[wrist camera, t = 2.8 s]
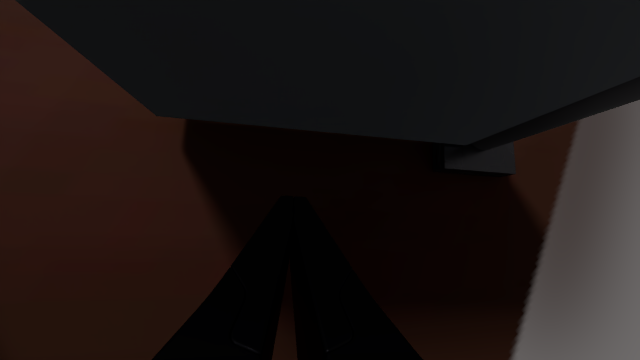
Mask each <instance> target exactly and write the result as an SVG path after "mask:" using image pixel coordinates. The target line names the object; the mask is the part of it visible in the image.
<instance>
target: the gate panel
mask: <svg viewBox="0 0 640 360" xmlns="http://www.w3.org/2000/svg"><path fill="white" fill-rule="evenodd" d="M16 1H17V2H18V3H19V4H21V5H22V6H23V7H24V8H25V9H27V10H28V11H29V12H30V13H32V14H33V15H34V16H35V17H36V18H38V19H39V20H40V21H41V22H43V23H44V24H45V25H46V26H47V27H49V28H50V29H51V30H52V31H54V32H55V33H56V34H57V35H58V36H60V37H61V38H62V39H63V40H65V41H66V42H67V43H68V44H69V45H71V46H72V47H73V48H74V49H75V50H77V51H78V52H79V53H80V54H82V55H83V56H84V57H85V58H86V59H88V60H89V61H90V62H91V63H93V64H94V65H95V66H96V67H97V68H99V69H100V70H101V71H102V72H104V73H105V74H106V75H107V76H108V77H110V78H111V79H112V80H113V81H115V82H116V83H117V84H118V85H119V86H121V87H122V88H123V89H124V90H126V91H127V92H128V93H129V94H130V95H132V96H133V97H134V98H135V99H137V100H138V101H139V102H140V103H141V104H143V105H144V106H145V107H146V108H147V109H149V110H150V111H151V112H152V113H154V114H155V115H156V116H162V117H173V118H183V119H194V120H204V121H215V122H226V123H236V124H247V125H257V126H268V127H278V128H289V129H299V130H310V131H320V132H331V133H341V134H352V135H362V136H373V137H383V138H394V139H404V140H415V141H425V142H436V143H446V144H457V145H468V144H472V145H473V146H474V147H476V148H478V149H481V150H489V149H492V148H495V147H498V146H501V145H504V144H507V143H510V142H513V141H516V140H519V139H522V138H525V137H528V136H531V135H534V134H538V133H541V132H544V131H547V130H550V129H553V128H556V127H559V126H562V125H565V124H568V123H571V122H574V121H577V120H580V119H583V118H586V117H589V116H592V115H595V114H597V113H601V112H604V111H607V110H610V109H613V108H616V107H619V106H622V105H625V104H628V103H631V102H634V101H637V100H640V0H16Z"/></svg>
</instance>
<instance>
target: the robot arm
mask: <svg viewBox="0 0 640 360" xmlns="http://www.w3.org/2000/svg"><path fill="white" fill-rule="evenodd" d="M289 256H290V272H291V284H292V296H293V309H294V321H295V333H296V345H297V358H298V360H423V359H422V358H421V357H420V356H419V354H418V353H417V352H416V351H415V350H414V349H413V347H412V346H411V345H410V344H409V342H408V341H407V340H406V339H405V338H404V336H403V335H402V334H401V333H400V331H399V330H398V329H397V328H396V327H395V325H394V324H393V323H392V322H391V320H390V319H389V318H388V317H387V316H386V314H385V313H384V312H383V311H382V309H381V308H380V307H379V306H378V304H377V303H376V302H375V300H374V299H373V298H372V297H371V295H370V294H369V293H368V291H367V290H366V288H365V287H364V285H363V284H362V282H361V281H360V280H359V278H358V276H357V275H356V273H355V272H354V271H353V270H352V267H351V266H350V264H349V263H348V261H347V260H346V258H345V257H344V255H343V254H342V252H341V251H340V249H339V247H338V246H337V244H336V243H335V241H334V240H333V238H332V237H331V235H330V234H329V232H328V231H327V229H326V228H325V226H324V224H323V223H322V221H321V220H320V218H319V217H318V215H317V214H316V212H315V211H314V209H313V208H312V206H311V205H310V203H309V201H308V200H307V198H306V197H298V196H295V197H294V198H293V197H292V196H281V197H280V198H279V199H278V201H277V202H276V204H275V205H274V206H273V208H272V209H271V211H270V212H269V213H268V215H267V216H266V218H265V219H264V220H263V222H262V223H261V225H260V226H259V227H258V229H257V230H256V232H255V233H254V234H253V236H252V237H251V239H250V240H249V241H248V243H247V244H246V246H245V247H244V248H243V250H242V251H241V253H240V254H239V255H238V257H237V258H236V260H235V261H234V262H233V264H232V265H231V268H229V269H228V271H227V272H226V273H225V275H224V276H223V278H222V279H221V280H220V282H219V283H218V284H217V285H216V287H215V288H214V289H213V291H212V292H211V293H210V295H209V296H208V297H207V298H206V299H205V300H204V302H203V303H202V304H201V305H200V306H199V307H198V309H197V310H196V311H195V312H194V313H193V314H192V315H191V317H190V318H189V319H188V320H187V321H186V322H185V323H184V324H183V325H182V326H181V328H180V329H179V330H178V331H177V332H176V333H175V334H174V335H173V336H172V338H171V339H170V340H169V341H168V342H167V343H166V344H165V345H164V346H163V348H162V349H161V350H160V351H159V352H158V353H157V354H156V355H155V356H154V358H153V359H152V360H272V355H273V349H274V344H275V338H276V332H277V327H278V321H279V315H280V310H281V304H282V298H283V293H284V287H285V281H286V276H287V270H288V264H289Z"/></svg>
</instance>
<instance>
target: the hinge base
mask: <svg viewBox="0 0 640 360" xmlns="http://www.w3.org/2000/svg"><path fill="white" fill-rule="evenodd" d="M433 172H444V173H457V174H469V175H482V176H495V177H502V176H507V175H513V174H516V171H515V158H514V145H513V142H510V143H507V144H504V145H501V146H498V147H495V148H492V149H489V150H481V149H478V148H476V147H474V146H473V145H472V144H468V145H457V144H446V143H436V142H433Z"/></svg>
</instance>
